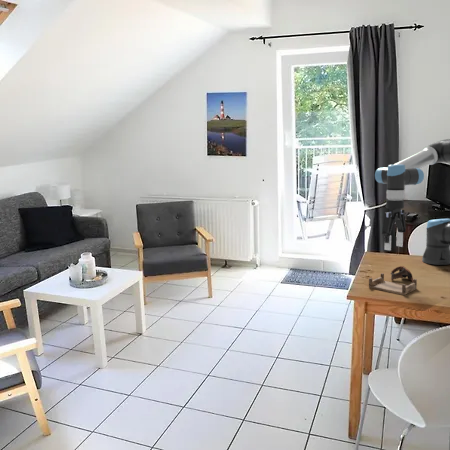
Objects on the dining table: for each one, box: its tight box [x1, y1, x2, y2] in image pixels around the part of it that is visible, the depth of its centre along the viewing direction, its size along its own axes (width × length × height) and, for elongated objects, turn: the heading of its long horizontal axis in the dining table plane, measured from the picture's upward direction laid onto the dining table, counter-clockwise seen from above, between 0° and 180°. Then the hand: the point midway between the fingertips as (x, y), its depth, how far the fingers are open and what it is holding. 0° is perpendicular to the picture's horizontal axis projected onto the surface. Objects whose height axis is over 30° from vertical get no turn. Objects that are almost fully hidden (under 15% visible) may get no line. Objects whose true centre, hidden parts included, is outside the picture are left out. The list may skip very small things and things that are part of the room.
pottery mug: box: [390, 265, 414, 284], centre depth 233 cm, size 12×9×8 cm
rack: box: [368, 273, 418, 296], centre depth 222 cm, size 12×17×4 cm
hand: (393, 248), depth 220 cm, fingers open, 10 cm apart
